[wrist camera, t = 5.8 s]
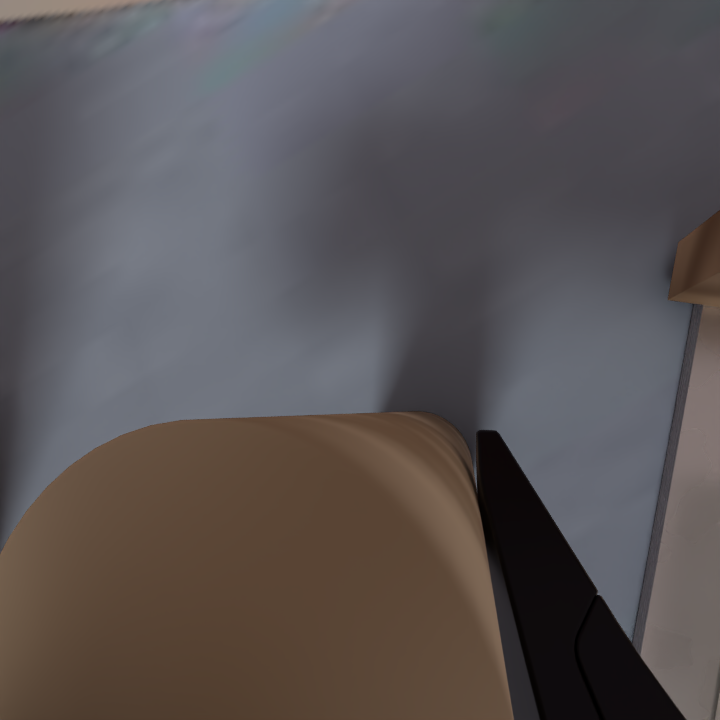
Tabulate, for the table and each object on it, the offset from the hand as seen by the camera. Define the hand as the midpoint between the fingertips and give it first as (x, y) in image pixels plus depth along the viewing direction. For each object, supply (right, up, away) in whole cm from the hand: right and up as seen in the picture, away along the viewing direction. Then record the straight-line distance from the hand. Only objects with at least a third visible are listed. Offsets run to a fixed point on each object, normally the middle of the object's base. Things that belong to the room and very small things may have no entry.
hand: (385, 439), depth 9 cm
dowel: (+2, -2, +6) cm, 7 cm away
